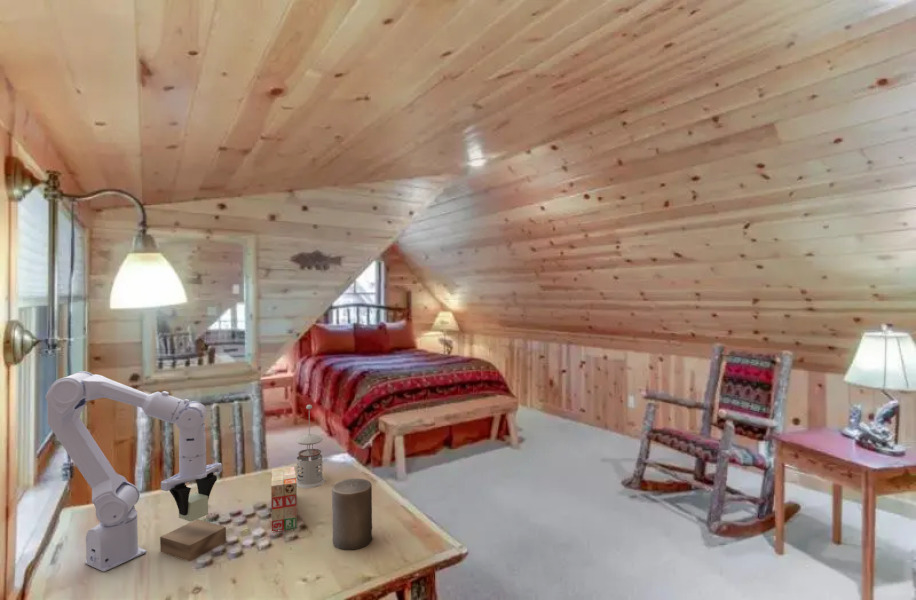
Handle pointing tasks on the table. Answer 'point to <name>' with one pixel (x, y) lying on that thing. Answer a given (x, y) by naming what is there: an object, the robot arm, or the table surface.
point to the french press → (309, 468)
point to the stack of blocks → (283, 498)
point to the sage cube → (196, 507)
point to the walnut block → (192, 539)
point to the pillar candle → (352, 513)
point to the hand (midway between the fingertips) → (193, 510)
